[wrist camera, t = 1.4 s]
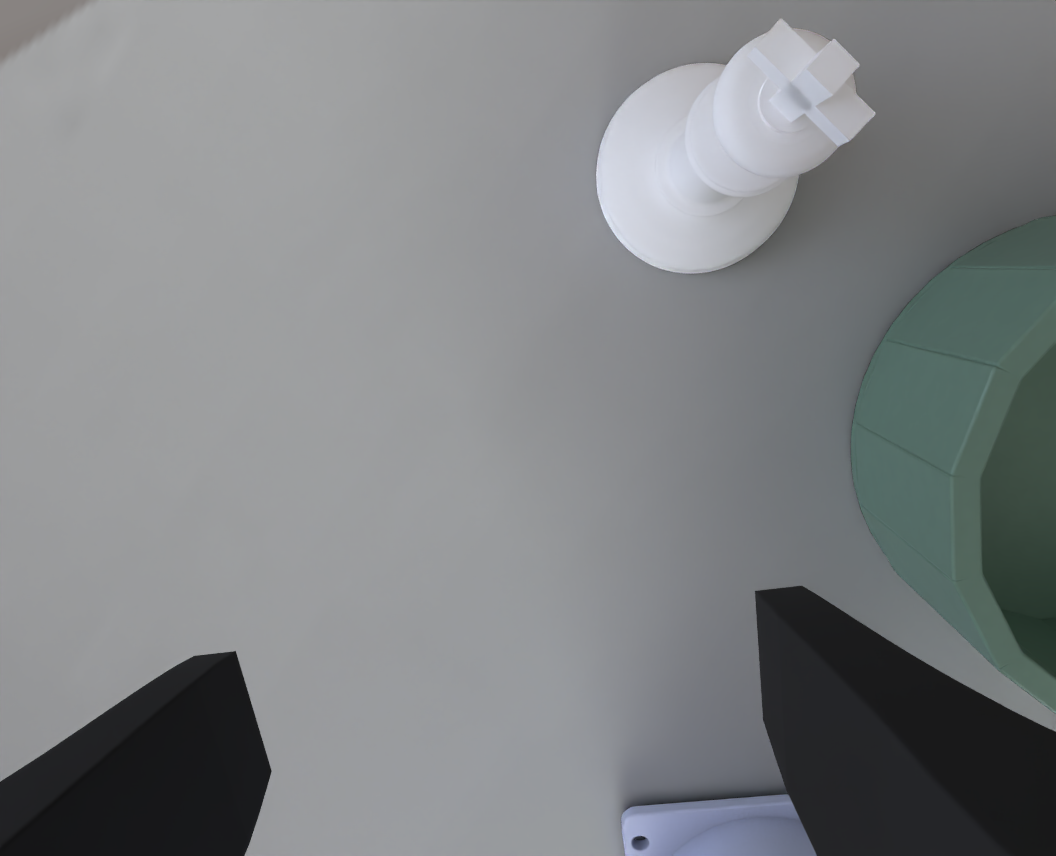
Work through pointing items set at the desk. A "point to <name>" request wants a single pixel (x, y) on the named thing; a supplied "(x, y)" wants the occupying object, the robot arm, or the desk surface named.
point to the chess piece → (725, 148)
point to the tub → (972, 450)
